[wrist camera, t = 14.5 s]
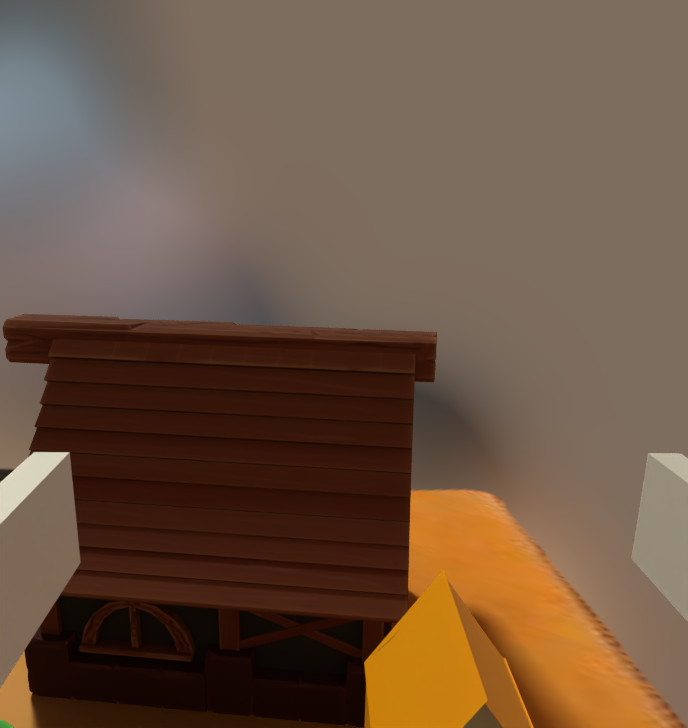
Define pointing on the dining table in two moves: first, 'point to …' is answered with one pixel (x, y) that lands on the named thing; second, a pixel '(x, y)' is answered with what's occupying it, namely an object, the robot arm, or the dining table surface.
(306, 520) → the house
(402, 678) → the orange juice
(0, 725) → the snack cup
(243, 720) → the dining table surface
